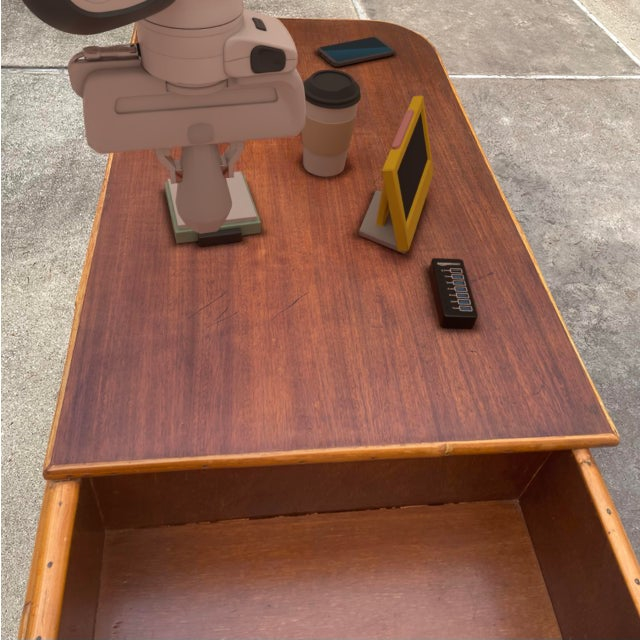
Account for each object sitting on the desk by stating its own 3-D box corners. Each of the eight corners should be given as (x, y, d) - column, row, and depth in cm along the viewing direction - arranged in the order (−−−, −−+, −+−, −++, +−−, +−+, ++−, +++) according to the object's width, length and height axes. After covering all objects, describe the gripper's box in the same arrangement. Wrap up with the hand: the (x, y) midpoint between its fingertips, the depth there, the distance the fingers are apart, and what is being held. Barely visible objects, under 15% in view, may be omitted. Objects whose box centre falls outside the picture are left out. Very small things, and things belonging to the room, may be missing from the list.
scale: (177, 249, 89) (176, 234, 87) (165, 192, 97) (163, 177, 95) (262, 238, 92) (263, 223, 90) (243, 184, 100) (243, 168, 98)
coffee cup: (284, 162, 105) (288, 74, 94) (322, 142, 110) (330, 57, 98) (325, 187, 101) (334, 99, 90) (362, 166, 106) (375, 79, 95)
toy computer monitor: (404, 269, 89) (426, 175, 78) (349, 255, 91) (364, 160, 79) (429, 190, 103) (452, 99, 91) (382, 178, 104) (398, 87, 92)
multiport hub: (440, 328, 83) (444, 316, 81) (428, 269, 90) (431, 257, 88) (474, 329, 83) (478, 317, 81) (458, 270, 90) (462, 258, 89)
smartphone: (315, 51, 132) (315, 47, 131) (375, 39, 138) (376, 35, 137) (334, 68, 128) (335, 63, 127) (395, 55, 134) (396, 50, 133)
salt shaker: (187, 200, 71) (175, 90, 61) (237, 208, 71) (234, 99, 61) (170, 234, 67) (156, 122, 57) (224, 242, 67) (219, 132, 57)
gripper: (63, 66, 50) (96, 208, 60) (315, 51, 55) (306, 185, 65) (61, 30, 54) (92, 169, 64) (297, 19, 59) (291, 150, 69)
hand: (202, 177), depth 65 cm, fingers closed on salt shaker, 3 cm apart
